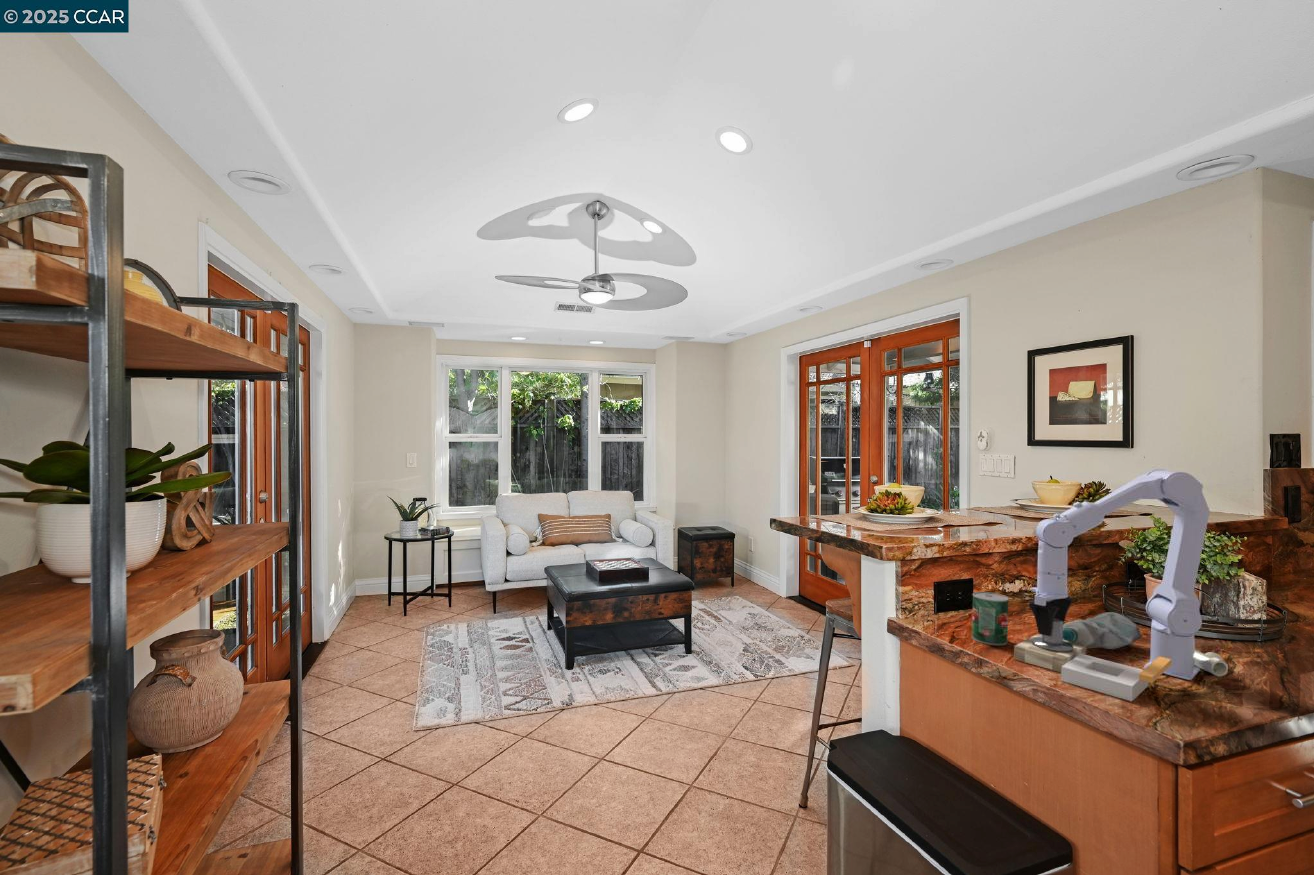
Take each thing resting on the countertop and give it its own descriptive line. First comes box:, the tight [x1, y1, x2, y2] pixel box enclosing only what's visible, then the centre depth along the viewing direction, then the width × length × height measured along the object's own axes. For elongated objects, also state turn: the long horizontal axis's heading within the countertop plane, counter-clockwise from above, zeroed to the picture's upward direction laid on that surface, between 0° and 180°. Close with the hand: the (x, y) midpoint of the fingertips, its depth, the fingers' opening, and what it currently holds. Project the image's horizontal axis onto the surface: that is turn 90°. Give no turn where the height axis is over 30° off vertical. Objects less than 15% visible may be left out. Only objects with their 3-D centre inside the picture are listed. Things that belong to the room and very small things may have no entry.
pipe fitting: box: [1194, 648, 1229, 678], centre depth 134 cm, size 8×4×7 cm
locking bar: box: [1139, 656, 1171, 684], centre depth 122 cm, size 15×2×1 cm, turn 129°
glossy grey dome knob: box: [1032, 618, 1073, 652], centre depth 139 cm, size 8×8×9 cm
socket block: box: [1060, 654, 1149, 702], centre depth 126 cm, size 12×12×3 cm
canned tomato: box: [971, 591, 1010, 646], centre depth 151 cm, size 8×8×11 cm
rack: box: [1013, 633, 1087, 673], centre depth 139 cm, size 14×10×3 cm
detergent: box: [1063, 611, 1143, 650], centre depth 147 cm, size 13×7×25 cm
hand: (1050, 631), depth 139 cm, fingers open, 7 cm apart
